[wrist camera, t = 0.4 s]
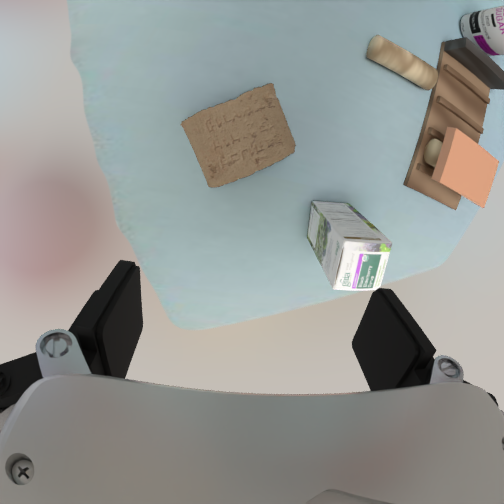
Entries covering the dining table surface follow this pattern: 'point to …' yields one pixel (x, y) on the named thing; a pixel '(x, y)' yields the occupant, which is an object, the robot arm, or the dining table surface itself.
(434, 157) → the under roller
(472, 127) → the track
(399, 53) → the roller
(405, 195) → the dining table surface
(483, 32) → the supplement can
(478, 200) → the slab
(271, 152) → the clay tablet
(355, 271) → the syrup box
